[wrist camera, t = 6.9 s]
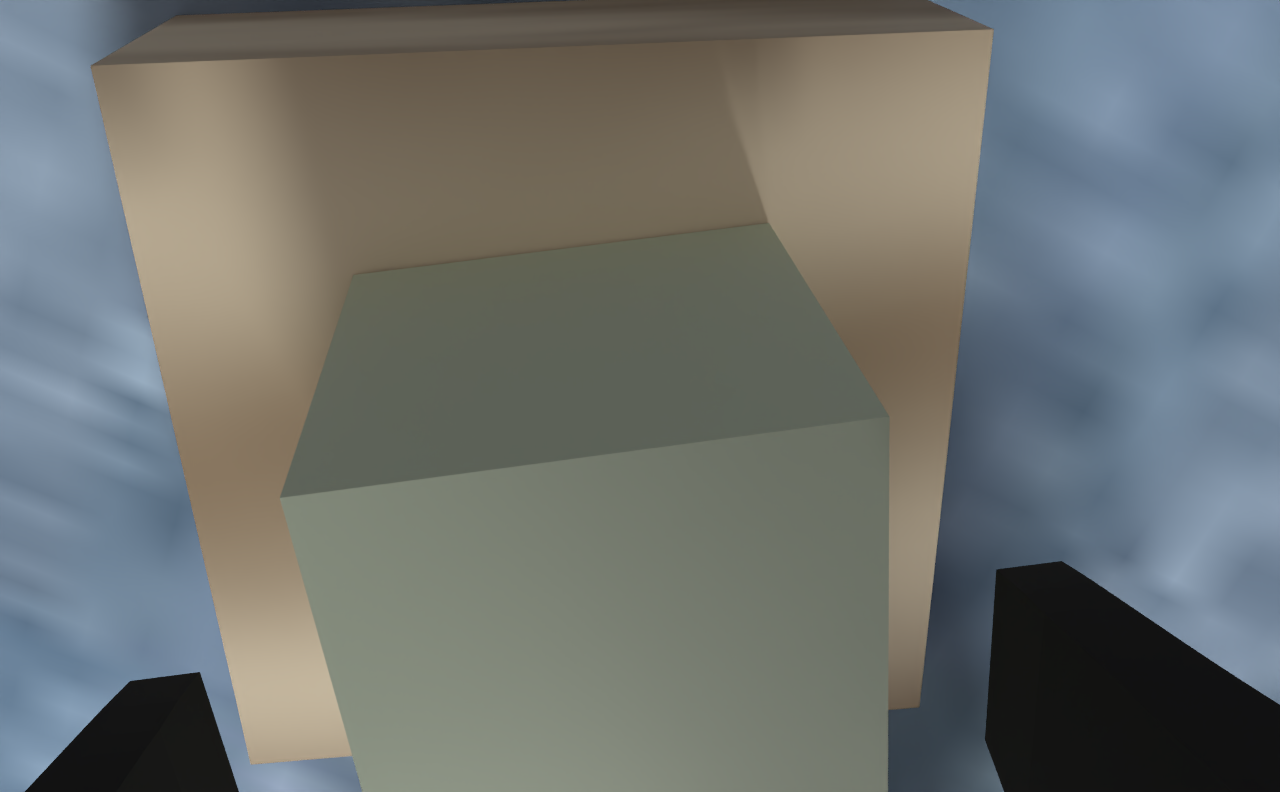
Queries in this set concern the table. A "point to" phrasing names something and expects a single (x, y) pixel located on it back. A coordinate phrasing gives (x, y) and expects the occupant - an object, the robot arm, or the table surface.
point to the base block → (525, 228)
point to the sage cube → (599, 525)
